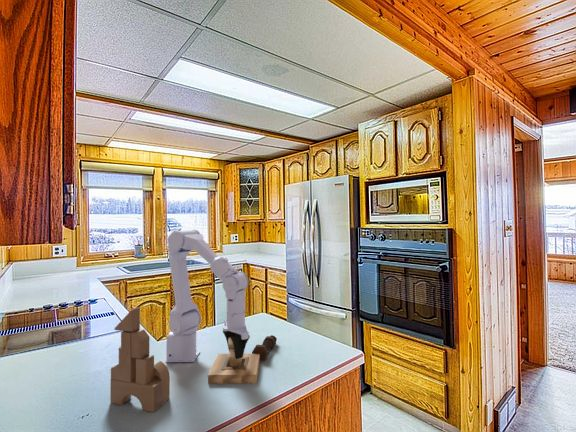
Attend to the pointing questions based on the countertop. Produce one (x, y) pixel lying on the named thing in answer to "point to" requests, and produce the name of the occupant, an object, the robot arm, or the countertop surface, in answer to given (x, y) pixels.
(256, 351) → the bolt
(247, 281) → the robot arm
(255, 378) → the board
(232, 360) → the peg
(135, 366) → the wooden toy
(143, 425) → the countertop surface
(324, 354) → the countertop surface
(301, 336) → the countertop surface
